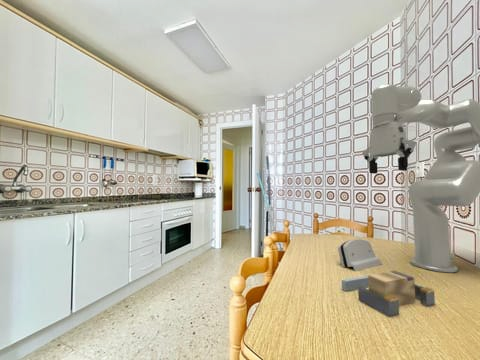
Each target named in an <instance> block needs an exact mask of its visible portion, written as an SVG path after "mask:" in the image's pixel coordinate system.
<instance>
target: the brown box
mask: <svg viewBox="0 0 480 360" xmlns="http://www.w3.org/2000/svg"><path fill="white" fill-rule="evenodd" d="M367 276H368V282H369V287H368V289H369V290H371V291H373V292H375V293H377V294H379V295H381V296H389V295H393V296H395V297H397V298H398V299H399V307H402V306H406V305H410V304H415V303H416V299H415V284H416V282H415V276H413V275H410V274H407V273H404V272H402V271H399V270H390V271H388V272H387V271H386V272H382V273H375V274H369V275H367Z"/></svg>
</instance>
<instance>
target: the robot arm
mask: <svg viewBox="0 0 480 360" xmlns="http://www.w3.org/2000/svg"><path fill="white" fill-rule="evenodd" d="M371 113H372V114H371V116H372V117H371V119H372V121H371V123H372V128H371V129H370V133H369V142H368V147H367V148H366V149H365V150H363V151H362V156H363V158H364V160H366V162H367V163H369V164H368V170H369V173H370V174H378V162H377V160H378V159H379V158H383V157H385V158H386V157H388V156H389V157H390V156H396V155H398V156H399V157H398V158H397V169H398V171H404V172H405V171H408V167H409V165H408V163H409V161H408V160H409V159H408V158H410V157H411V154H412V153H413V152H414V149H415V147H416V146H417V141H415V140H410V139H407V136H406V131H405V128H404V124H403V123H409V124H410V123H420V124H422V125H425V126H429V127H431V128H435V129H446V128H451V127H455V126H458V125H463V124H468V123H469V124H470V125H469V126H466V127H462V128H458V129H453V130H449V131H446V132H443V133H441V134H439V135H438V136H436V138H434V141H433V147H434V151H435V152H434V153H435V154H436V158H437V159H436V161H434V163H433V165H432V166H431V167H429V168H430V169H428V170H427V172H426V174H425V179H420V180H417V181H414V182H412V183H411V184H410V185H409V186H408V197H409V199H410V203H411V207H412V209H411V210H412V220H413V238H414V239H413V241H414V242H413V243H414V257H413V258H410V259H409V262H410V264H411V265H413V266H415V267H417V268H421V269H425V270H430V271H433V272H440V273H456V272H458V267H457V266H456V265H454V264H452V261H453V260H455V259H456V257H455V256H454V255H453V254H451V246H450V245H451V244H450V242H451V241H450V240H451V239H450V227H449V225H450V223H449V218H448V215H447V214H446V213H445V211H444V210H443V209H442V208H441V207H467V206H470V205H472V204H473V203H474V202H475V201H476V199H477V198H478V197H479V195H480V161H479V160H473V159H472V160H471V159H469V160H466V158H465V157H464V156H463V154H461V153H459V152H457V151H463V150H464V151H465V150H470V148H471V149H474V148H473V147H475V146H476V145H477V144H478V143H480V103H479V102H478V101H477V100H475V99H472V98H468V99H464V100H461V101H458V102H454V103H451V104H448V105H447V104H444V103H441V102H438V101H436V100H434V99H423V100H422V93H421V92H420V90H419V89H418V88H416V87H414V86H413V87H412V86H397V85H396V84H391V83H390V84H389V83H388V84H383V85H380V86H378V87H376V88H374V90H373V91H372V93H371ZM440 206H441V207H440Z"/></svg>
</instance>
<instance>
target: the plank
mask: <svg viewBox="0 0 480 360" xmlns="http://www.w3.org/2000/svg"><path fill="white" fill-rule="evenodd" d="M358 287H364V288H366V289H368V288H369V282H368V275H364V276H356V277H351V278H345V279H341V290H342V291H344V292H350V291H355V290H358Z"/></svg>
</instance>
